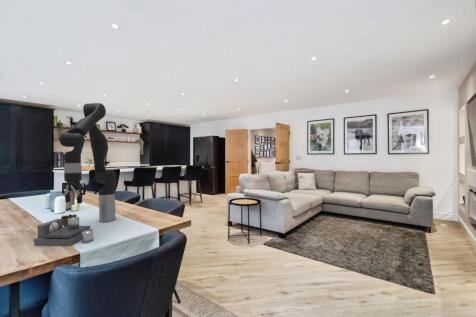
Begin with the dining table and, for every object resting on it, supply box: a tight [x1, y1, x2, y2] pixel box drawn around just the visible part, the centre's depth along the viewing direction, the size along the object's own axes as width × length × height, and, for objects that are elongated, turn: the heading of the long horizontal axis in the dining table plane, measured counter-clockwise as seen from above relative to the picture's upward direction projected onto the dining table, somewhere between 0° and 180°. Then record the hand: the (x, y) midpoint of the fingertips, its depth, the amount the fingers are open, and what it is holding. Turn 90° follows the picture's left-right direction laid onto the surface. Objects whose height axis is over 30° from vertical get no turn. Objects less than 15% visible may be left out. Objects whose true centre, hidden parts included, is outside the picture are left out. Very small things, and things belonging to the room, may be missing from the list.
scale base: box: [33, 218, 94, 247], centre depth 122 cm, size 16×18×9 cm
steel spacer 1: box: [68, 216, 80, 229], centre depth 126 cm, size 5×5×5 cm
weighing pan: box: [43, 225, 91, 238], centre depth 122 cm, size 15×13×1 cm
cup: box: [60, 213, 78, 227], centre depth 138 cm, size 8×7×8 cm
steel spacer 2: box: [81, 229, 95, 244], centre depth 119 cm, size 5×5×5 cm
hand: (73, 202), depth 124 cm, fingers open, 8 cm apart
